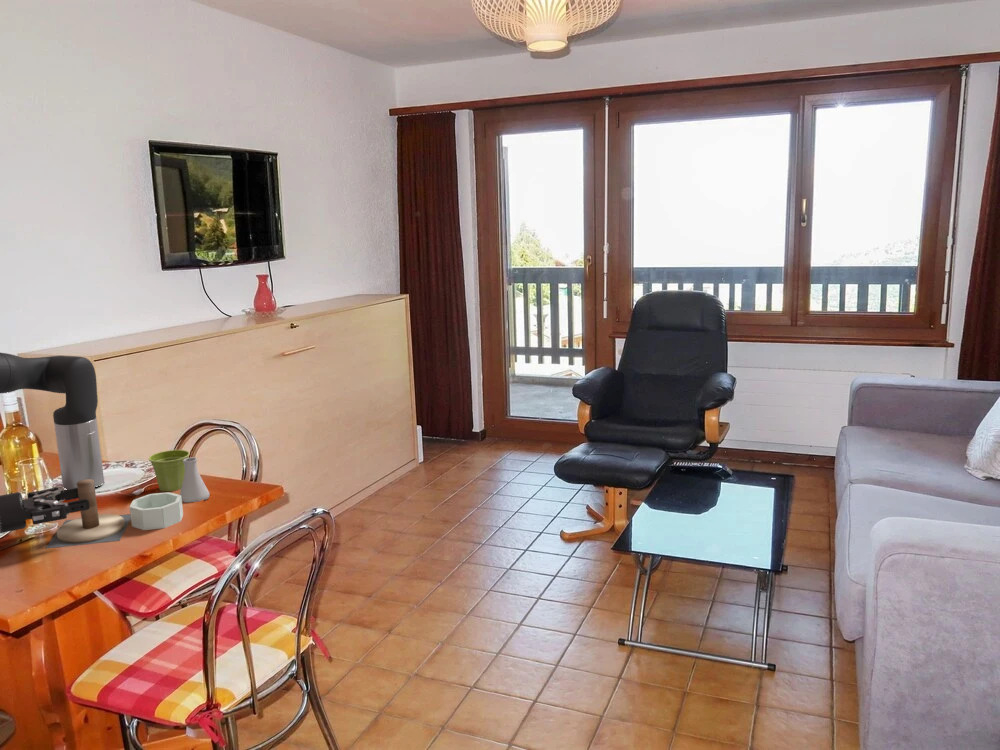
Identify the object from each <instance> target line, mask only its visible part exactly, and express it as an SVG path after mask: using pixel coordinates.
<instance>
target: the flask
mask: <svg viewBox="0 0 1000 750" xmlns="http://www.w3.org/2000/svg"><path fill="white" fill-rule="evenodd" d="M197 462H198V457H193V456H192V457H188V458H186V459H184V460H183V463H184V465H185V473H184V479H183V483H182V487H181V489H180V491H179V493H178V495H181V498H182V503H196V502H201V501H206V500H208V499H209V497H210V495H211V493H210V492H209V490H208V488H207V486H206V484H205V482H204V480H203V478H202V477H201V475H200V471H199V469H198V465H197Z"/></svg>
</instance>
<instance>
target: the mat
mask: <svg viewBox="0 0 1000 750" xmlns="http://www.w3.org/2000/svg"><path fill="white" fill-rule="evenodd" d="M118 515H119V516H121V517H123V518H124V521H125V527H124V528H123V529H122V530H121V531H120V532H118V533H116V534H114V535H112V536H109V537H107V538H104V539H100V540H96V541H91V542H83V543H68V542H63V541H60V540H59V539H58V538H57V532H55V534H54V535H53V537H52V538H51V539H50V541H49V543H47V545H46V546H45V549H54V548H55V549H56V548H62V547H63V548H65V547H73V546H74V547H75V546H83V545H93V544H101V543H103V544H104V543H111V542H120V541H121V538H122V536H123V535H124V534H125V531H126V529H127V527H128V526H129V524H130V523H131V515H130V513H129V514H118ZM72 520H73V519H68V520H67V519H66V520H65V521H64V522H63V523H62V525H64V524H65V523H67V522H70V521H72Z"/></svg>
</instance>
